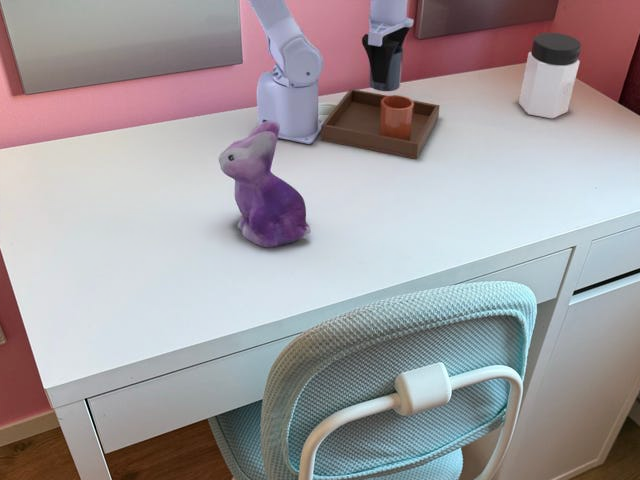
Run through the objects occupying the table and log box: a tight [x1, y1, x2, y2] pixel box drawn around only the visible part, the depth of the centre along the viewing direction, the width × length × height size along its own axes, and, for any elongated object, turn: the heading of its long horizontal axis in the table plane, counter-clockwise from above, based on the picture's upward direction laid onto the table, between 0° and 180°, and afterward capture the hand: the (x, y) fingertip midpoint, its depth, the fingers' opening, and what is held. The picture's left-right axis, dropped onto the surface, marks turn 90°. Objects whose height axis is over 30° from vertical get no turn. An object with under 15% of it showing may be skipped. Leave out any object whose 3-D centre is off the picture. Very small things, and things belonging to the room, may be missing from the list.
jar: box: [518, 32, 582, 120], centre depth 129 cm, size 9×8×12 cm
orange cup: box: [379, 94, 414, 141], centre depth 118 cm, size 5×5×6 cm
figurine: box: [218, 121, 311, 248], centre depth 94 cm, size 9×10×15 cm
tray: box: [320, 88, 440, 160], centre depth 122 cm, size 16×15×3 cm
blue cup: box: [368, 45, 404, 92], centre depth 119 cm, size 5×5×6 cm
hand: (384, 75), depth 120 cm, fingers closed on blue cup, 5 cm apart
